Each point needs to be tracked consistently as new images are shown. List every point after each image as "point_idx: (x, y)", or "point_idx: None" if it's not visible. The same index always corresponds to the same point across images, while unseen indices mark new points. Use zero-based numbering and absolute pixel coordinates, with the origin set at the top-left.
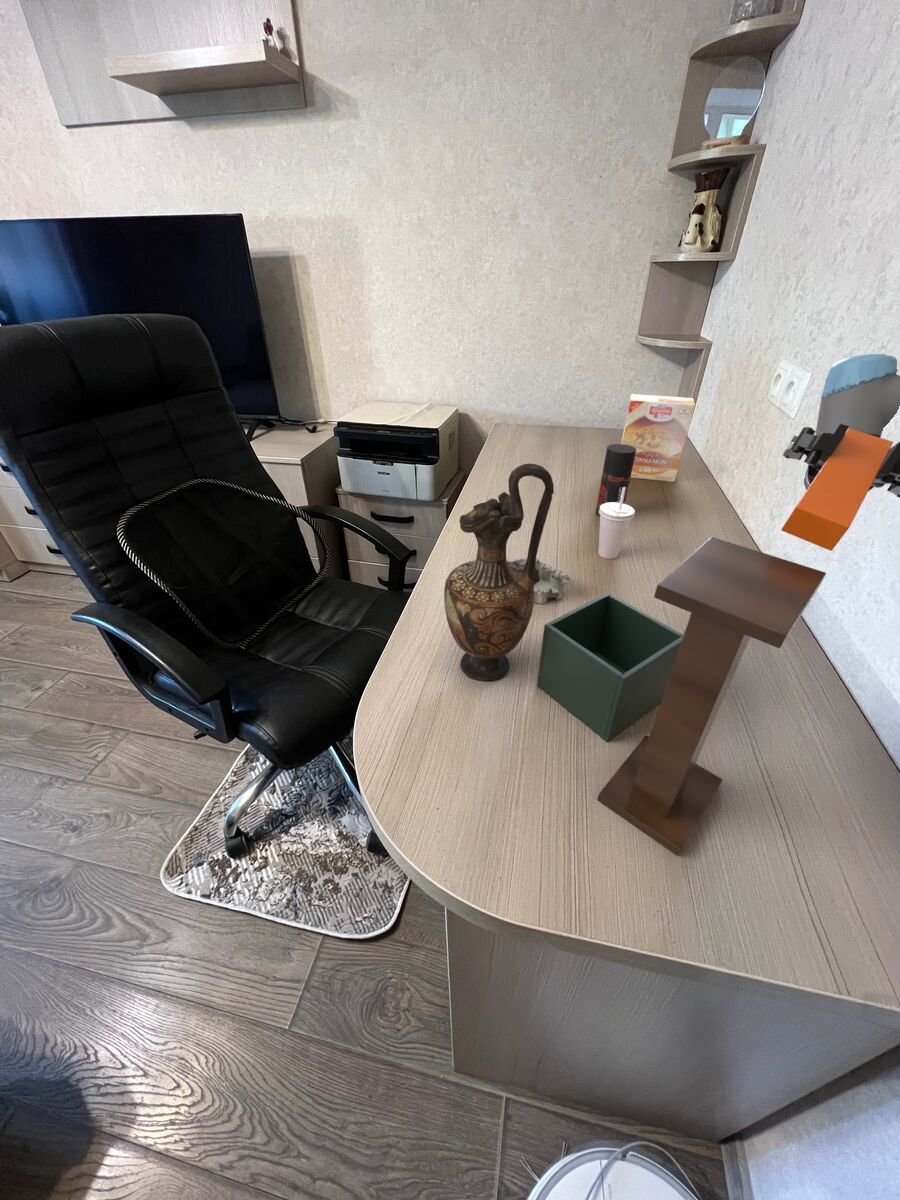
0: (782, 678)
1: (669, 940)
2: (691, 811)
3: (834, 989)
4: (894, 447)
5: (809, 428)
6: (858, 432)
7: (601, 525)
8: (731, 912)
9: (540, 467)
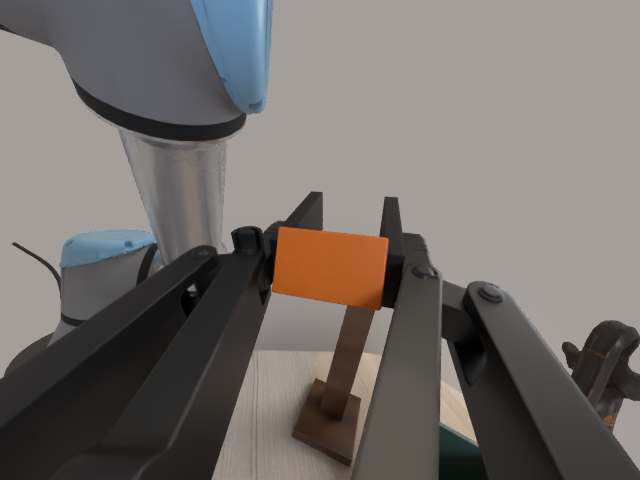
0: None
1: (314, 354)
2: (312, 399)
3: (258, 350)
4: (318, 204)
5: (484, 282)
6: (360, 235)
7: None
8: (291, 366)
9: (620, 327)
